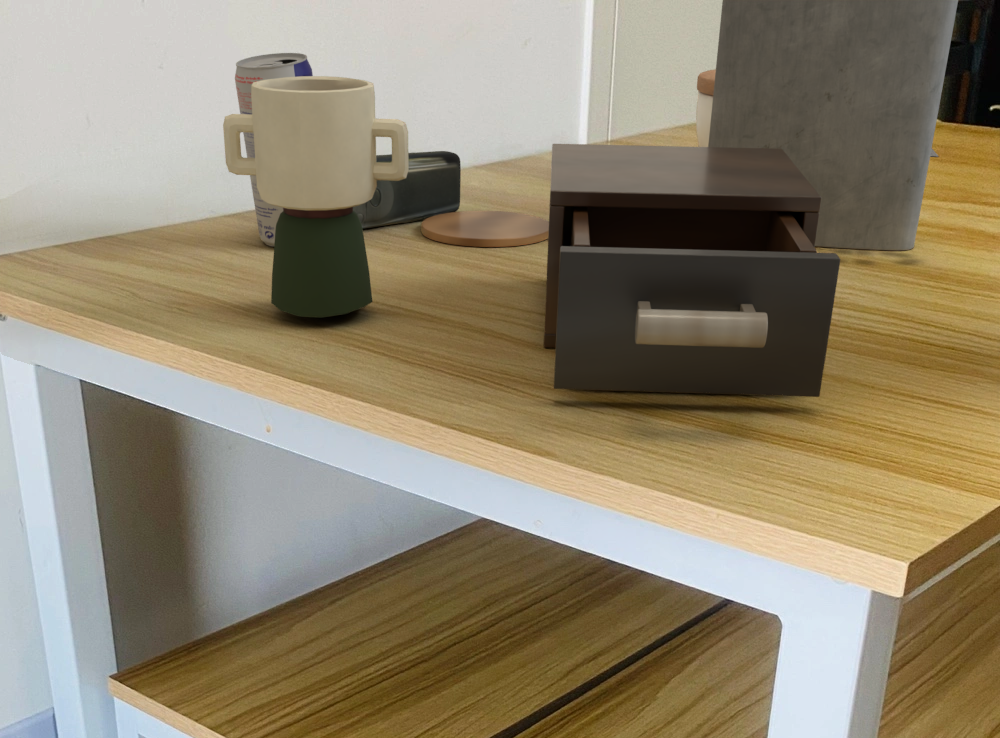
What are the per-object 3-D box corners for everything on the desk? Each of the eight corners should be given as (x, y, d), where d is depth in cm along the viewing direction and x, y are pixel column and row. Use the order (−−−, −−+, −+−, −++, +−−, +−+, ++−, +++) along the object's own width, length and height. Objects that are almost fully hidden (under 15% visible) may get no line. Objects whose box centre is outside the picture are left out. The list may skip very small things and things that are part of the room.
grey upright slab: (914, 242, 103) (969, -64, 92) (912, 254, 100) (969, -62, 89) (703, 226, 107) (732, -69, 96) (694, 237, 104) (724, -67, 93)
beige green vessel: (419, 302, 87) (417, 78, 80) (399, 334, 81) (397, 94, 74) (251, 295, 88) (236, 73, 81) (220, 325, 82) (201, 88, 75)
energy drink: (347, 233, 101) (326, 55, 94) (291, 253, 98) (264, 70, 91) (301, 223, 104) (277, 49, 97) (245, 241, 101) (217, 64, 94)
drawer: (833, 426, 65) (857, 281, 62) (553, 417, 66) (560, 273, 62) (780, 318, 81) (796, 198, 78) (555, 312, 82) (560, 193, 78)
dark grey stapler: (443, 145, 110) (295, 161, 100) (469, 150, 108) (321, 167, 99) (441, 210, 112) (297, 232, 103) (467, 216, 110) (323, 239, 101)
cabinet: (799, 355, 78) (821, 197, 74) (543, 347, 79) (550, 190, 74) (765, 286, 91) (782, 148, 87) (546, 280, 92) (552, 143, 88)
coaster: (552, 219, 108) (553, 212, 108) (551, 249, 100) (552, 240, 100) (426, 216, 109) (426, 208, 109) (415, 245, 100) (415, 236, 100)
